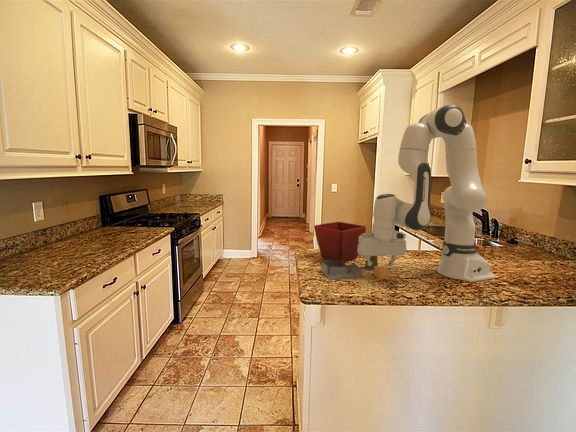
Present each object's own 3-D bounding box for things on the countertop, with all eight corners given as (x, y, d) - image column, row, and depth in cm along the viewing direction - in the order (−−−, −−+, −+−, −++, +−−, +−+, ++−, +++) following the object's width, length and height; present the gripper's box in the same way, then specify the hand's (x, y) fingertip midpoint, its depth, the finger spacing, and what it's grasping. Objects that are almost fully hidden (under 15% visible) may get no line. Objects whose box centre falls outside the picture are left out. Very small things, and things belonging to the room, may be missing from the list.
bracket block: (382, 274, 129) (383, 265, 128) (389, 279, 123) (389, 270, 122) (373, 275, 128) (374, 266, 128) (380, 280, 122) (380, 270, 122)
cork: (380, 267, 138) (381, 244, 136) (374, 270, 133) (375, 247, 132) (368, 264, 142) (369, 242, 140) (362, 267, 137) (363, 244, 136)
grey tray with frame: (352, 268, 137) (352, 258, 136) (363, 278, 124) (364, 267, 123) (320, 269, 134) (321, 259, 134) (329, 279, 122) (329, 269, 121)
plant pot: (312, 256, 154) (313, 224, 152) (337, 251, 166) (338, 221, 163) (340, 266, 139) (341, 231, 137) (365, 259, 151) (367, 226, 149)
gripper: (361, 235, 119) (359, 268, 121) (409, 234, 121) (406, 267, 124) (356, 231, 125) (354, 263, 127) (401, 231, 128) (399, 262, 130)
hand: (380, 265), depth 125 cm, fingers open, 8 cm apart
